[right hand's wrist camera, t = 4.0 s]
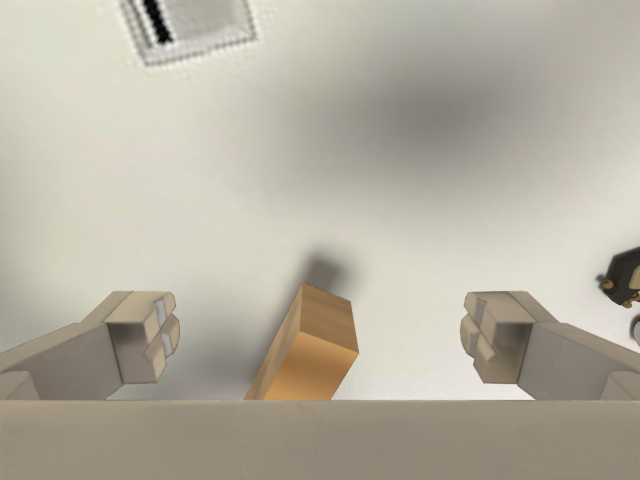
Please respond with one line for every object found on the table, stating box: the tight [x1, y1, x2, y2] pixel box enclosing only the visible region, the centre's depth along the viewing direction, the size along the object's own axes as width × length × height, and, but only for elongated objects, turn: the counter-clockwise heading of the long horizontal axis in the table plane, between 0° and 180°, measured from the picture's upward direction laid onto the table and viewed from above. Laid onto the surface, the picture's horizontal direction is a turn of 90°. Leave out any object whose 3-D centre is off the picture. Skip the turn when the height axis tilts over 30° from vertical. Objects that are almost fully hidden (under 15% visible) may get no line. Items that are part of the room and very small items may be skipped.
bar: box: [244, 283, 359, 400], centre depth 37 cm, size 23×5×8 cm, turn 155°
